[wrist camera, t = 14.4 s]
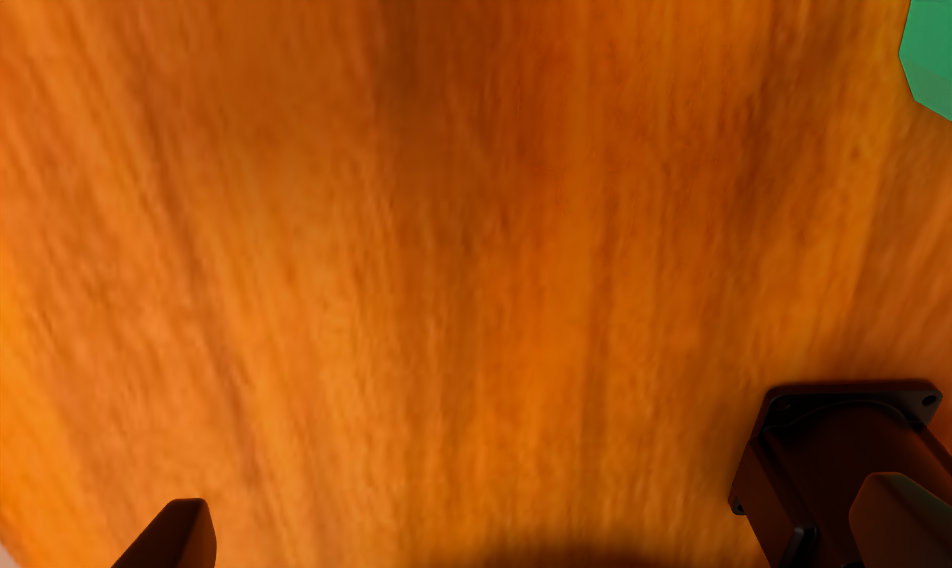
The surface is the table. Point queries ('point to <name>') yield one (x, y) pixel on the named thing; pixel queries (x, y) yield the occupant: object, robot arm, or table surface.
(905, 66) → the candle
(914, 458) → the robot arm
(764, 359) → the table surface
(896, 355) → the table surface
